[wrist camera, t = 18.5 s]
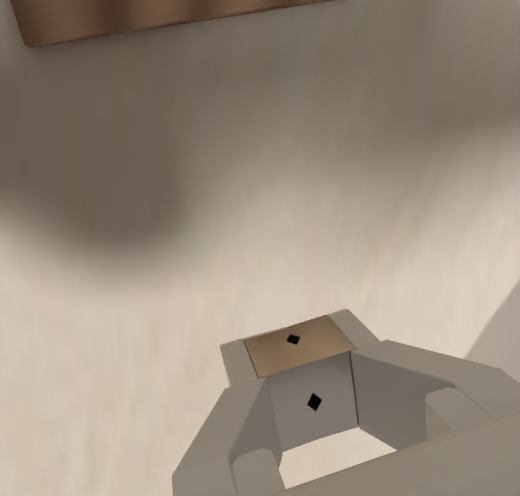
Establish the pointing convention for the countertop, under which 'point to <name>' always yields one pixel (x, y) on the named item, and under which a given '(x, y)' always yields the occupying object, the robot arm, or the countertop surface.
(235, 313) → the countertop surface
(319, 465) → the countertop surface
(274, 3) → the walnut floorboard
